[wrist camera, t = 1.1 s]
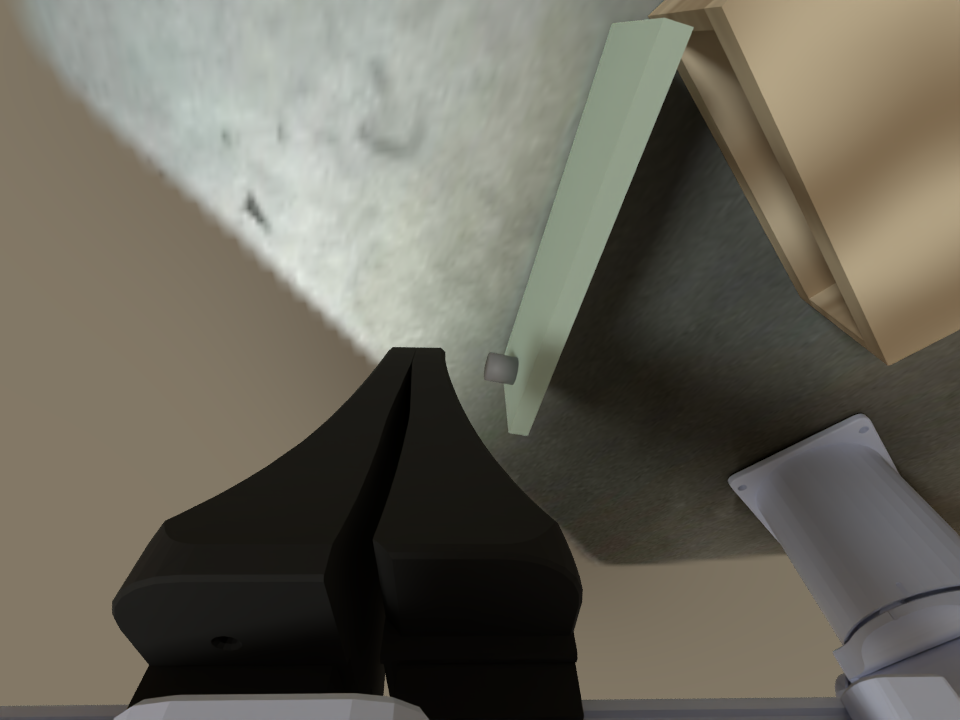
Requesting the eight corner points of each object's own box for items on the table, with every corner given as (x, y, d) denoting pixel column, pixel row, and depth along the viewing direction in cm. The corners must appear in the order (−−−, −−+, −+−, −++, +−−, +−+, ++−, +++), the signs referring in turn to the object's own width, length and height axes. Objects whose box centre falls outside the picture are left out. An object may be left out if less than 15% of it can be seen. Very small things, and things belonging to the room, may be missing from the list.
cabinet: (1059, 141, 18) (1258, 175, 13) (800, 297, 22) (888, 366, 17) (992, -305, 12) (1313, -517, 7) (647, 16, 16) (721, 6, 11)
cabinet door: (517, 365, 23) (527, 435, 19) (477, 358, 23) (480, 428, 19) (634, 30, 16) (693, 27, 11) (577, 13, 15) (617, 3, 11)
